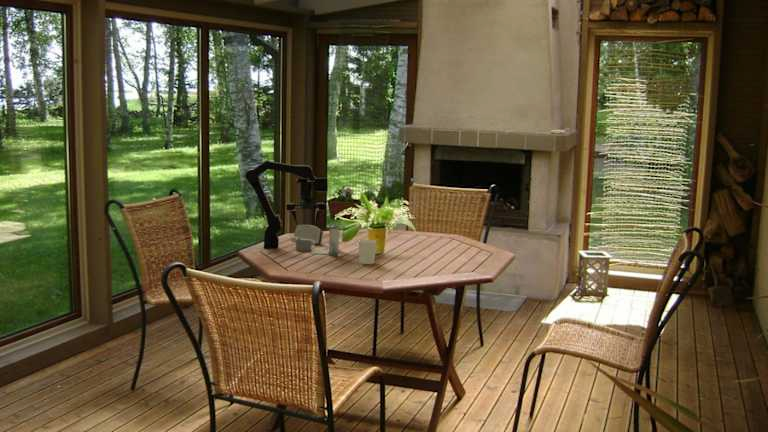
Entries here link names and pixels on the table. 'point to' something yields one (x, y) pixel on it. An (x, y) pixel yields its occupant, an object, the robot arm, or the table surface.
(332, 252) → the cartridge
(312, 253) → the pad
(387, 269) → the table surface
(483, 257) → the table surface
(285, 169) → the robot arm
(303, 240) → the unit
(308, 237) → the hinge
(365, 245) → the white cup
